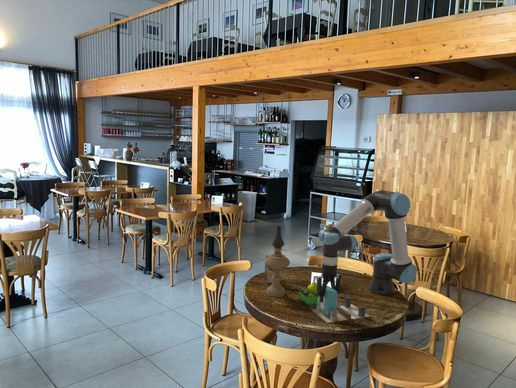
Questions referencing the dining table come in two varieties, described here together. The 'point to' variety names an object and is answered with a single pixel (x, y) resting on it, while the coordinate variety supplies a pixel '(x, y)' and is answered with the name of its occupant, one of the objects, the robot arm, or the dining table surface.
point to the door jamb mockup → (342, 312)
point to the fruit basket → (310, 294)
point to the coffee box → (268, 273)
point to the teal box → (329, 300)
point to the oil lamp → (277, 265)
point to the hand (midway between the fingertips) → (327, 307)
